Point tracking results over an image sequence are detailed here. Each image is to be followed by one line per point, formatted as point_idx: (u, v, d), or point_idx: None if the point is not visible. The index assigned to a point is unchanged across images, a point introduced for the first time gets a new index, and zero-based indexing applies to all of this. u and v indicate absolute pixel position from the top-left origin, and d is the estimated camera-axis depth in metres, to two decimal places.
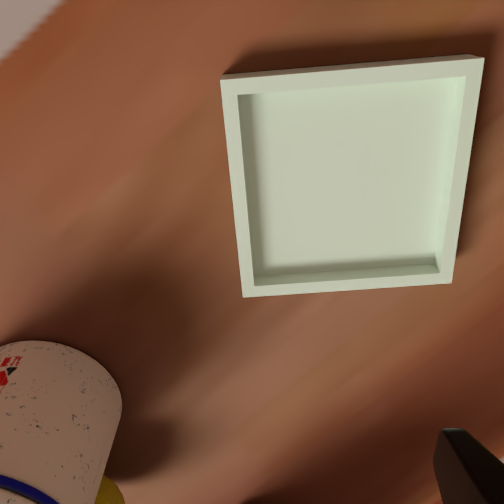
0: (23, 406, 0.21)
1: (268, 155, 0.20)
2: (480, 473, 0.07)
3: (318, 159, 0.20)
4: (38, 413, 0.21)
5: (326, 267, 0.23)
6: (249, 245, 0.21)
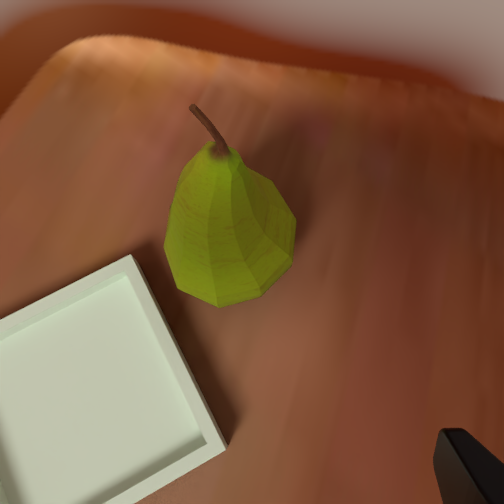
0: None
1: (0, 403, 0.21)
2: (480, 473, 0.07)
3: (47, 387, 0.22)
4: None
5: (99, 498, 0.20)
6: None
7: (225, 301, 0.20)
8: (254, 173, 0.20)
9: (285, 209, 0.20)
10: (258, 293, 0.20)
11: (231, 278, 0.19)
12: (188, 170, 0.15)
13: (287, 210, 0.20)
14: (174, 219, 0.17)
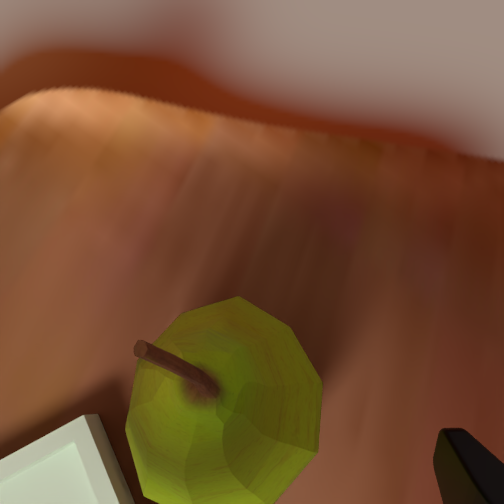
0: None
1: None
2: (480, 473, 0.07)
3: None
4: None
5: None
6: None
7: None
8: (261, 327, 0.13)
9: (308, 378, 0.13)
10: None
11: None
12: (148, 391, 0.09)
13: (310, 377, 0.13)
14: (132, 433, 0.11)
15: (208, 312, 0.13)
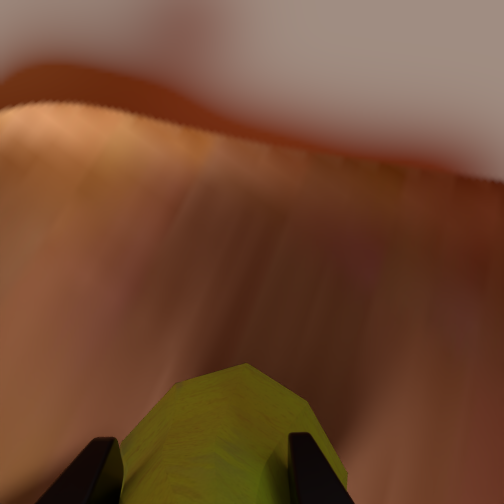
0: None
1: None
2: (304, 478, 0.07)
3: None
4: None
5: None
6: None
7: None
8: (277, 415, 0.10)
9: None
10: None
11: None
12: None
13: (335, 472, 0.11)
14: None
15: (210, 392, 0.11)
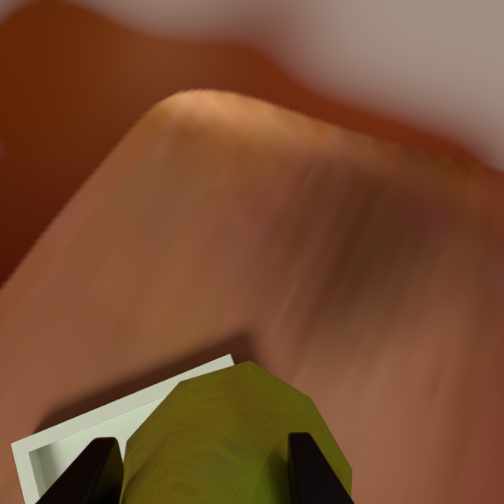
0: None
1: None
2: (304, 478, 0.07)
3: None
4: None
5: None
6: None
7: None
8: (279, 412, 0.10)
9: (336, 472, 0.11)
10: None
11: None
12: None
13: (339, 469, 0.11)
14: None
15: (213, 390, 0.11)
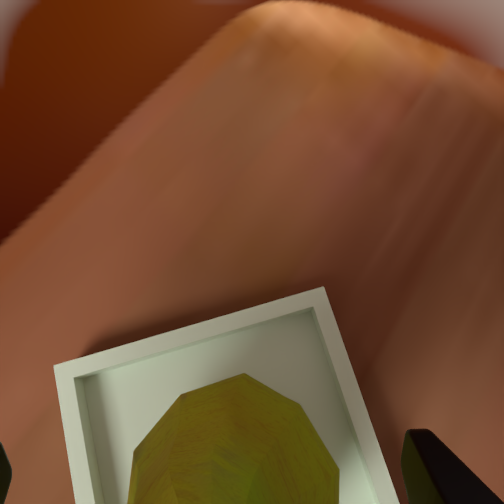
0: None
1: (126, 447, 0.16)
2: (441, 474, 0.07)
3: None
4: None
5: None
6: None
7: None
8: (271, 421, 0.12)
9: (324, 473, 0.12)
10: None
11: None
12: None
13: (327, 470, 0.12)
14: None
15: (210, 402, 0.12)
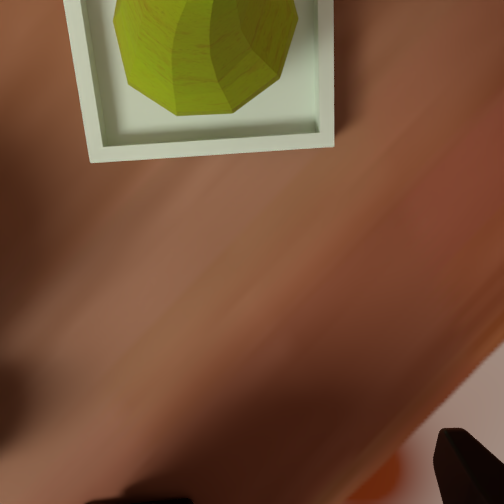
0: None
1: None
2: (480, 473, 0.07)
3: None
4: None
5: (192, 134, 0.20)
6: (92, 89, 0.18)
7: (187, 115, 0.16)
8: None
9: (287, 5, 0.14)
10: (229, 113, 0.16)
11: (198, 97, 0.14)
12: None
13: (289, 6, 0.14)
14: (126, 6, 0.12)
15: None
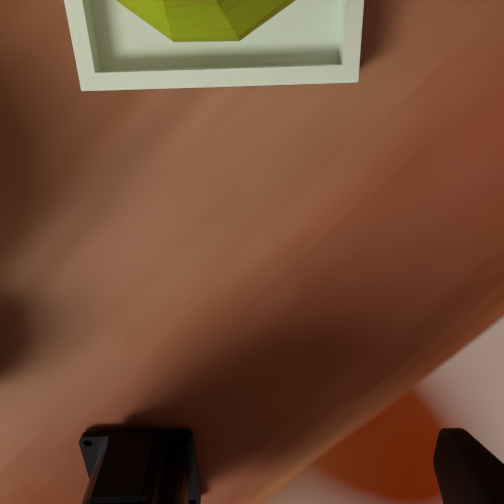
0: None
1: None
2: (480, 473, 0.07)
3: None
4: None
5: (197, 60, 0.17)
6: (81, 2, 0.16)
7: (186, 41, 0.14)
8: None
9: None
10: (235, 40, 0.14)
11: (196, 22, 0.12)
12: None
13: None
14: None
15: None
